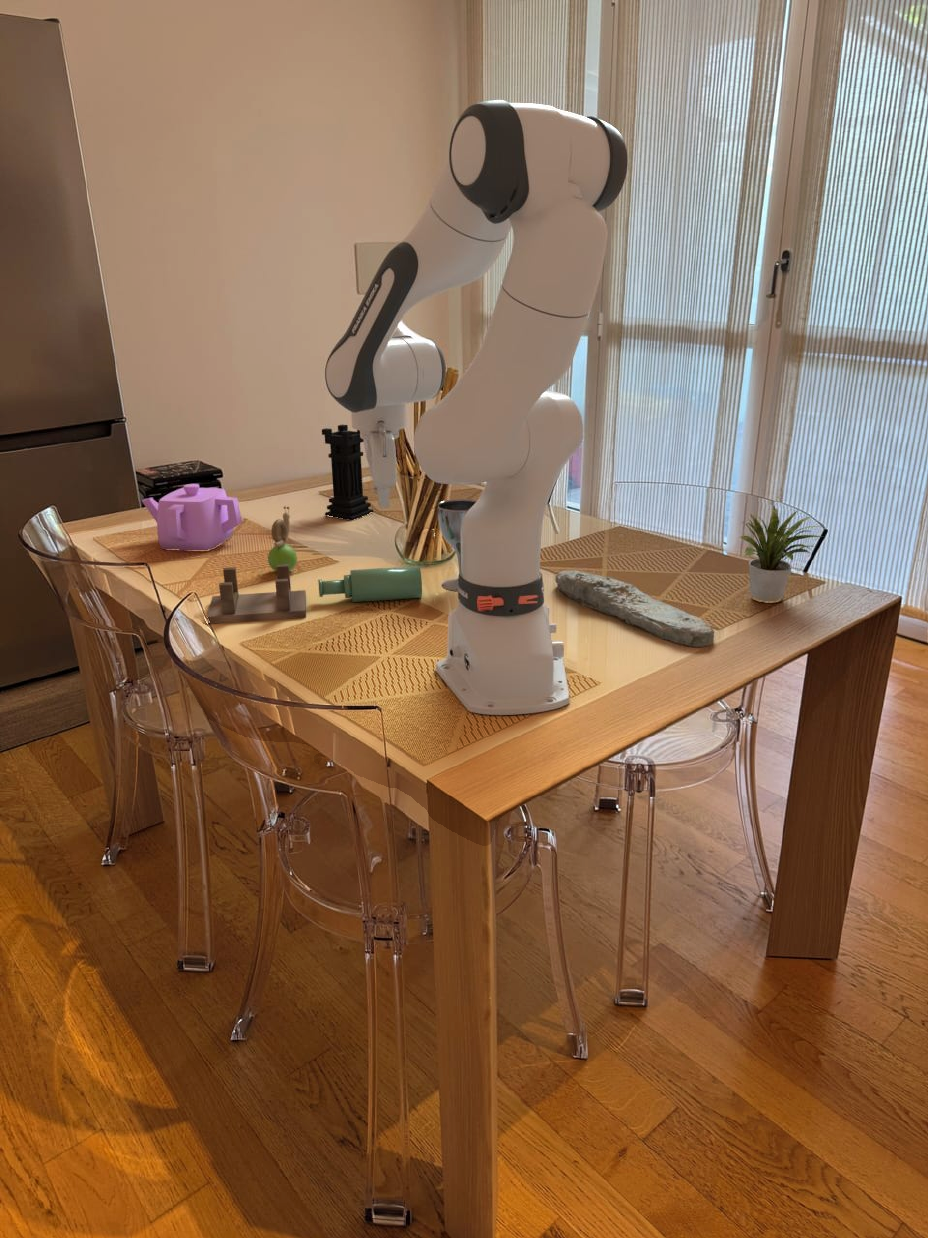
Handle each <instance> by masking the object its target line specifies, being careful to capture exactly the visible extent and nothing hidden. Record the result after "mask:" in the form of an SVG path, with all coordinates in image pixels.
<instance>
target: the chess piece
mask: <svg viewBox="0 0 928 1238" xmlns="http://www.w3.org/2000/svg"><path fill="white" fill-rule="evenodd" d="M321 435H322V436H324V444H326V445H329V447H330V448H329V449H330V453H328V459H329V458H330V460H331V462H330V463H331V476H332V478H331V479H332V491H333V495H332V496H333V497H331V498H328V503H330V504H329V505H326V510H328V511H326V512H324V516H325V515H329V516H333V517H338V518H337V519H339V518H343V519H342V520H344V519H349V520H348V521H350V520H353V521H355V520H354V519H356V520H358V519H361V518H363V517H362V516H364V515H366V516H368V515H367V514H369V513H370V512H374V509H373V508H370V507H371V506H372V503H371V502H367V501H368V500H369V497H368V496H366V495H364V492H363V491H364V490H363V489H364V488H363V487H364V485H363V470H362V469H363V468H362V456H364V452H363V451H361V449H362V448H361V444H362V443H364V441H363V439H362V438H360V430H356V431H352V430H349V427H348V424H339V425H337V431H333V429H332V428H328V427H327V428H322V429H321ZM369 515H370V514H369ZM333 517H332V518H333ZM360 517H361V518H360ZM364 517H365V516H364ZM357 518H358V519H357Z"/></svg>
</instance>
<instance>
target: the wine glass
mask: <svg viewBox="0 0 928 1238" xmlns="http://www.w3.org/2000/svg"><path fill="white" fill-rule="evenodd" d="M476 502H477V500H475V499H467V498H466V499H465V498H456V499H448V500H447V499H446V500H443V501H440V502H439V503H437V519H438V525H439V529H440V534H441V535H442V537H443V539H444V540H445V541H446V543H448V545H450V547H452V549H453V550H454V552H455V554H456V557H457V563H458V574H459V573H460V572H461V523H462V520H463V518H464V516H465V514H466V513H467V511H468V510H469V509H470V508H471V507H472V506H473V505H474V504H475V503H476ZM457 583H458V577H457V578H456V577H455V578H450V579H449V578H448V579H447V580H444V581H443V582H442V583H441V587H442V588H443V589H444V590H448V591H451V592H458V589H457Z"/></svg>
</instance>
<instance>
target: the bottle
mask: <svg viewBox="0 0 928 1238" xmlns="http://www.w3.org/2000/svg"><path fill="white" fill-rule="evenodd" d="M349 573H350V574H344V575H343V579H338V580H337V579H336V580H334V579H333V580H322V579H318V582H317V583H318V596H319V597H320V598H323V597H324V596H326V595H327V596H328V595H344V598H345V599H351V601H352V603H362V602H376V601H377V602H379V601H390V600H393V601H394V600H405V599H406V600H407V599H408V600H409V599H421V598H422V597H423V582H422V580H423V579H422V572H421V567H420V565H416V566H415V565H414V566H413V565H412V566H397V567H395V566H394V567H383V568H382V567H380V568H365V569H363V568H362V569H350V572H349Z"/></svg>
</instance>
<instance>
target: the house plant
mask: <svg viewBox="0 0 928 1238" xmlns="http://www.w3.org/2000/svg"><path fill="white" fill-rule="evenodd" d="M798 511H799V509H797V510H795V511H794V512H793V513H791V515H790V516H789V517H788V518H786V519H785V520H784V521H783V523H782V524H781V525H780V518H779V510H778V509H777V508H776V505H774V506H773V509H772V512H771V516H770V520H769V522H768V523H769V524H768V527H767V525H766V523H765V522H764V520H763V519H762V518H761V517H759V516H756V515H752V514H750V513H749V515H750V517H751V519H752V520H753V521H752V520H750V519H748V518H747V520H748V521H749V522H745V521H741V523H742V524H744V525H745V526H746V527H747V528H748V529H749V530H750V532H751V533H752V534H753V536H754V538H755V539H753V537H751V536H749V535H741V536H739V538H740V539H742V540H744V541H746V542H747V543H749V544H751V545H752V546H753V547H754V548H753V547H750V546H747V547H746V548H745V551H744V553H743V554H745V555H744V556H743V558H745V557H746V556H750V555H756V556H757V557H758V558H753V559H750V561H748V573H749V591H750V597H751V596H752V597H753V598H756V599H758V600H763V601H776V600H779V599H781V598H782V597H784V594H785V592H786V589H787V586H788V585H787V584H788V582H789V580H790V579H789V578H790V575H791V572H792V569H793V565H792V564H791V563H790V562H788V561H786V559H787V558H789V559H790V560H791V561H793V560H794V553H808V554H810V555H812V553H811V552H810V551H808V549H809V550H811V551H812V549H811V548H810V547H816V546H814V545H805V544H802V543H799V544H798V543H797V544H793V545H790V544H791V543H794V542H796V541H799V540H803V539H809V538H822V537H824V536H822V535H814V534H801V533H806V532H814V531H813V530H807V529H811V528H821V527H822V526H819V525H817V526H815V525H814V526H813V525H812V526H805V527H801V525H802V524H803V522H806V520H808V519H810V518H811V516H808V517H804V518H802V519H800V520H798V521H796V522H795V523H794V524H793V525H791V527H788V525H789V523H790V522H791V520H792V519H793V518H794V516H795V515H796V514H797V512H798ZM757 518H758V519H759V520H760V521H761V522H762V524H763V526H762V525H761V523H760V522H759V520H758V519H757ZM763 527H764V529H765V531H764V529H763ZM800 527H801V528H800ZM799 528H800V529H799ZM752 529H753V530H752ZM804 529H806V530H804ZM798 531H799V532H798ZM754 532H755V533H754ZM796 532H797V533H796ZM765 533H766V534H765ZM794 533H796V534H794ZM793 534H794V535H793ZM799 534H801V535H799ZM792 535H793V536H792ZM790 536H791V537H790ZM797 547H799V548H797ZM793 548H795V549H793ZM805 548H807V549H805ZM755 552H756V553H755ZM782 599H783V598H782Z"/></svg>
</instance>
